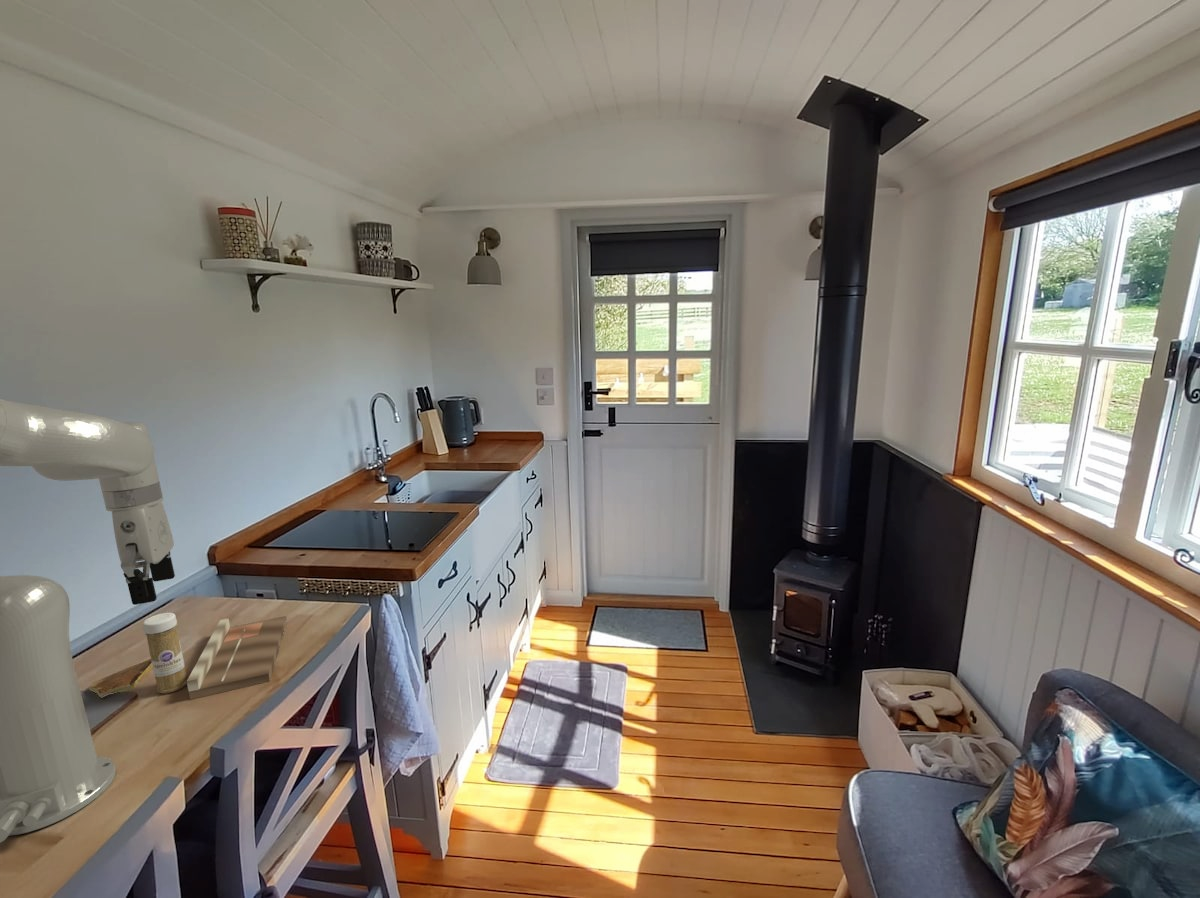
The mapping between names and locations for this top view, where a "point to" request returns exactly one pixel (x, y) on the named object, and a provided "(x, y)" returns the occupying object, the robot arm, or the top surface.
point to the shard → (122, 679)
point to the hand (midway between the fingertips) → (155, 590)
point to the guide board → (237, 657)
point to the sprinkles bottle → (165, 652)
